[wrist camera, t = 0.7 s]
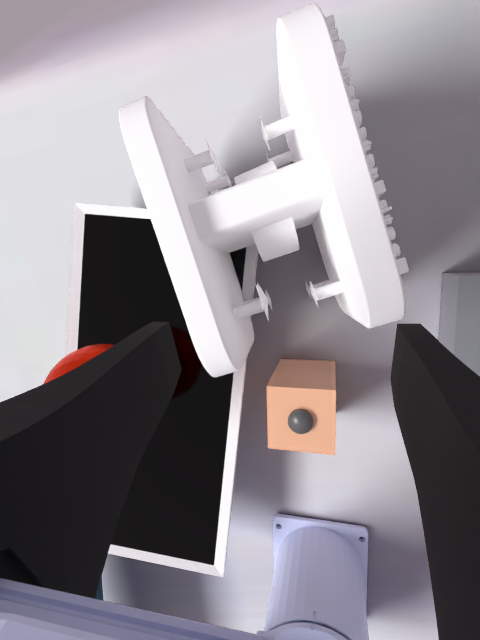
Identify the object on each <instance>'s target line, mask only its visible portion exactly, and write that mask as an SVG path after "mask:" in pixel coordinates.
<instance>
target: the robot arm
mask: <svg viewBox="0 0 480 640" xmlns="http://www.w3.org/2000/svg"><path fill="white" fill-rule="evenodd" d="M181 370H182V369H181V365H180V361H179V357H178V353H177V350H176V346H175V342H174V338H173V334H172V331H171V327H170V323H169V322H152V323H150V324H148V325H146V326H144V327H142V328H141V329H139V330H137V331H136V332H134V333H132V334H131V335H129V336H128V337H126V338H124V339H123V340H121V341H120V342H118V343H117V344H115V345H113V346H112V347H110V348H109V349H107V350H105V351H104V352H102V353H101V354H99V355H97V356H95V357H94V358H92V359H90V360H89V361H87V362H85V363H83V364H82V365H80V366H78V367H77V368H75V369H73V370H71V371H69V372H67V373H65V374H64V375H62V376H60V377H58V378H56V379H54V380H51V381H49V382H47V383H45V384H43V385H41V386H39V387H37V388H34V389H32V390H29V391H27V392H25V393H22V394H20V395H17V396H15V397H13V398H10V399H8V400H5V401H3V402H0V640H369V635H368V624H367V614H366V597H367V564H368V530H367V528H365V527H364V526H359V525H352V524H345V523H338V522H331V521H325V520H318V519H311V518H304V517H297V516H290V515H284V514H276V515H274V518H273V543H274V578H273V583H272V589H271V594H270V600H269V605H268V611H267V616H266V621H265V627H264V631H257V634H252V633H248V632H243V631H239V630H234V629H230V628H225V627H220V626H216V625H211V624H207V623H202V622H198V621H193V620H189V619H184V618H179V617H175V616H170V615H166V614H161V613H157V612H152V611H148V610H143V609H139V608H134V607H129V606H125V605H120V604H116V603H111V602H107V601H102V600H98V599H95V597H96V593H97V590H98V586H99V582H100V579H101V575H102V572H103V568H104V565H105V561H106V557H107V554H108V551H109V548H110V545H111V541H112V538H113V535H114V532H115V529H116V526H117V522H118V519H119V516H120V514H121V511H122V508H123V505H124V502H125V499H126V497H127V494H128V491H129V488H130V486H131V483H132V480H133V478H134V475H135V473H136V470H137V467H138V465H139V462H140V460H141V458H142V456H143V453H144V451H145V449H146V447H147V445H148V443H149V441H150V439H151V437H152V435H153V434H154V432H155V430H156V428H157V426H158V424H159V422H160V420H161V418H162V416H163V414H164V412H165V410H166V408H167V406H168V404H169V402H170V400H171V398H172V396H173V394H174V391H175V388H176V385H177V382H178V379H179V376H180V373H181ZM391 385H392V393H393V400H394V407H395V411H396V415H397V418H398V422H399V426H400V429H401V433H402V437H403V440H404V444H405V447H406V451H407V454H408V458H409V462H410V465H411V469H412V472H413V476H414V480H415V485H416V489H417V494H418V499H419V505H420V511H421V517H422V523H423V529H424V536H425V542H426V549H427V555H428V562H429V568H430V575H431V583H432V590H433V597H434V604H435V611H436V619H437V627H438V635H439V640H480V376H478V375H477V374H476V373H475V372H474V371H472V370H471V369H470V368H469V367H467V366H466V365H465V364H464V363H463V362H462V361H460V360H459V359H458V358H457V357H456V356H455V355H454V354H452V353H451V352H450V351H449V350H448V349H447V348H446V347H445V346H444V345H442V344H441V343H440V342H439V341H438V340H437V339H436V338H435V337H434V336H433V335H432V334H431V333H430V332H429V331H428V330H426V329H425V328H424V327H423V326H422V325H421V324H397V331H396V339H395V347H394V355H393V363H392V371H391ZM277 524H280V525H281V526H278V525H277ZM359 537H364V538H363V539H361V538H359Z"/></svg>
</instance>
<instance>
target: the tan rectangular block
mask: <svg viewBox="0 0 480 640" xmlns="http://www.w3.org/2000/svg"><path fill="white" fill-rule="evenodd" d="M267 430H268V448H270V449H280V450H290V451H299V452H309V453H319V454H329V455H335V437H336V364H335V361H325V360H298V359H280V361H279V363H278V365H277V367H276V369H275V371H274V373H273V375H272V376H271V378H270V380H269V382H268V384H267Z"/></svg>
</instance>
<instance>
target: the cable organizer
mask: <svg viewBox="0 0 480 640" xmlns="http://www.w3.org/2000/svg"><path fill="white" fill-rule="evenodd" d="M276 33H277V54H278V75H279V96H280V112H281V118H282V119H281V120H278V121H276V122H274V123H271V124H269V125H266V126H263V123H262V120H261V126H262V135H263V139H264V141H265V143H266V145H267V147H268V149H269V150H270V148H269V144H268V140H270V139H273V138H275V137H278V136H280V135H283V134H285V136H286V140H287V143H288V147H289V150H290V151H287V152H285V153H282V154H280V155H277V156H274V157H272V158H268V154H267V160H268V162H267V163H265V164H263V165H261V166H258V167H256V168H254V169H252V170H249V171H247V172H245V173H243V174H240V175H238V176H236V177H234V180H235V184H236V185H235V186H232V185H231V180H230V179H229V177H228V175H227V174H226V172H225V170H224V169H223V170H224V172H225V176H223V177H220V178H218V179H215V180H212V181H210V182H206V179H205V177H204V174H203V172H202V169H201V168H202V167H205V166H207V165H210V164H212V163H214V164H215V167H216V169H217V172H218V169H219V167H218V163H217V159H216V156H215V154H214V152H213V151H212V149H211V147H210V146H209V144H208V142H207V141H206V142H207V145H208V148H209V150H207V151H205V152H203V153H200V154H198V155H194V154H193V153H192V151H191V150H190V149H189V147H188V146H187V145H186V144H185V142H184V141H183V140H182V138H181V137H180V136H179V135H178V133H177V132H176V131H175V129H174V128H173V127H172V126H171V124H170V123H169V122H168V120H167V119H166V118H165V117H164V115H163V114H162V113H161V111H160V110H159V109H158V108H157V106H156V105H155V104H154V102H153V101H152V100H151V99H150V98H149V97H147V96H145V97H143V98H140V99H138V100H136V101H134V102H131V103H129V104H127V105H125V106H122V107H121V108H120V111H119V120H120V126H121V131H122V135H123V138H124V142H125V145H126V148H127V151H128V154H129V156H130V159H131V162H132V165H133V168H134V171H135V174H136V177H137V180H138V183H139V186H140V189H141V192H142V195H143V198H144V201H145V203H146V206H147V209H148V212H149V215H150V218H151V221H152V224H153V227H154V230H155V233H156V236H157V239H158V242H159V245H160V248H161V251H162V253H163V256H164V259H165V262H166V265H167V268H168V271H169V274H170V277H171V280H172V283H173V286H174V289H175V292H176V295H177V298H178V301H179V303H180V306H181V309H182V312H183V315H184V318H185V321H186V324H187V327H188V330H189V333H190V336H191V339H192V342H193V344H194V347H195V350H196V352H197V354H198V357H199V359H200V361H201V362H202V364H203V366H204V368H205V369H206V371H207V372H208V373H209V374H210V375H211V376H212V377H219V376H222V375H226V374H229V373H233V372H236V371H239V370H240V369H241V367H242V365H243V363H244V361H245V359H246V357H247V355H248V353H249V351H250V349H251V347H252V345H253V343H254V331H253V326H252V322H251V319H250V315H253V314H256V313H260V312H263V311H265V314H266V316H267V319H268V322H269V318H268V304H269V306H270V307H271V310H272V304H271V299H270V297H269V295H268V293H267V291H266V292H265V293H266V295H265V294H264V292H263V290H262V289H261V287H260V286H259V284H258V282H257V285H258V286H257V285H256V283H255V285H256V288H257V291H258V294H259V297H257V298H254V299H251V300H248V301H245V300H244V296H243V293H242V290H241V287H240V284H239V281H238V278H237V275H236V272H235V268H234V265H233V262H232V259H231V256H230V252H233V251H236V250H239V249H242V248H244V247H247V246H250V245H253V244H256V246H257V249H258V251H259V254H260V256H261V258H262V260H263V261H264V262H265V261H268V260H271V259H274V258H277V257H280V256H283V255H286V254H289V253H292V252H295V251H298V250H299V242H298V237H297V233H296V229H299V228H302V227H305V226H308V225H310V224H312V225H313V229H314V232H315V235H316V239H317V242H318V245H319V249H320V252H321V255H322V258H323V262H324V265H325V268H326V272H327V275H328V278H329V280H326V281H323V282H320V283H317V284H314V285H312V282H310V286H308V283H307V280H305V281H306V289H307V292H308V294H309V296H310V298H311V300H312V297H313V298H314V300H315V302H316V304H317V306H318V303H317V301H318V300H321V299H325V298H328V297H331V296H334V295H335V298H336V300H337V302H338V304H339V306H340V308H341V309H342V311H343V312H344V313H346V314H347V315H349V316H350V317H352V318H353V319H355V320H356V321H358V322H359V323H361V324H362V325H364V326H365V327H367V328H369V329H370V328H374V327H377V326H381V325H384V324H388V323H391V322H394V321H398V320H401V319H402V318H403V317H404V314H405V295H404V288H403V283H402V278H401V274H404V273H407V272H409V268H408V265H407V261H406V258H405V257H403V258H400V259H397V260H396V257H397V256H399V255H400V253H401V251H400V247H399V245H398V244H397V243H393V244H392V243H391V240H394V239H395V237H396V233H395V230H394V228H393V227H391V226H390V227H387V225H388V224H391V223H392V220H393V217H391V216H390V214H388V215H385V216H384V215H383V214H385V213H386V212H388V211H389V210H391V209H392V206H390V207H388V205H387V202H386V200H381V201H379V197H380V196H381V195H382V194H383V193H384V192H386V188H385V184H384V182H383V180H379V181H376V182H374V181H375V180H376V179H377V178H378V177H379V174H377V173H378V170H377V167H375V168H374V165H375V160H374V156H373V154H368V155H366V153H367V151H368V150H371V143H372V142H371V141H370V142H369V139H368V140H366V138H367V132H366V128H365V127H361V128H360V126H361V123H362V114H361V111H360V109H359V102H360V100H359V99H358V100H357V98H356V99H355V90H354V86H353V85H350V86H348V83H349V80H350V77H351V76H350V74H349V68H348V67H347V68H345V69H341V67H342V64H343V60H344V56H345V52H346V47H345V44H344V41H343V39H342V40H339V35H338V30H337V28H335V20H334V16H333V15H331V16H329V17H326V18H325V16H324V14H323V12H322V11H321V9H320V8H319V6H318V5H317V4H316V3H313V2H312V3H310V4H308V5H306V6H303V7H301V8H299V9H297V10H295V11H292V12H290V13H288V14H286V15H283V16H281V17H279V18H278V20H277V26H276ZM357 109H359V110H357ZM260 117H261V116H260ZM270 152H271V151H270ZM292 161H293V164H290V165H288V166H285V167H282V168H280V169H277V168H276V167H279V166H282V165H284V164H287V163H290V162H292ZM227 186H229V187H230V188H227V189H224V190H222V191H219V192H217V193H214V194H210V193H211V192H213V191H216V190H219V189H221V188H224V187H227ZM309 281H310V280H309ZM311 296H312V297H311ZM312 302H313V301H312ZM318 308H319V307H318ZM272 313H273V312H272Z"/></svg>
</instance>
